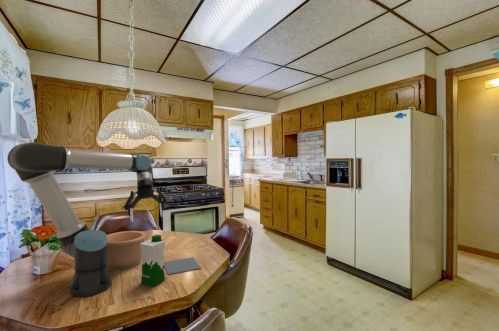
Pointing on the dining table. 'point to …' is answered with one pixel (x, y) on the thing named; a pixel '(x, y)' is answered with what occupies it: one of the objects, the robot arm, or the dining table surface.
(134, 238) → the pottery
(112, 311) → the dining table surface
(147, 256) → the soya milk
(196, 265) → the mat
